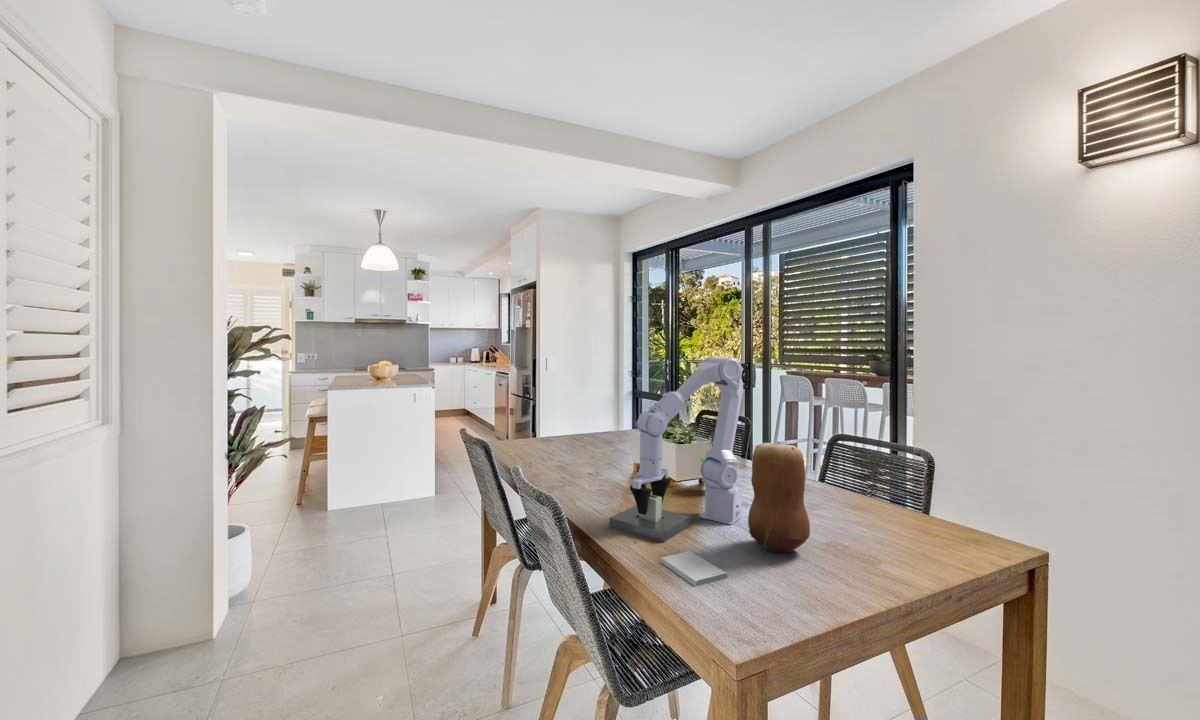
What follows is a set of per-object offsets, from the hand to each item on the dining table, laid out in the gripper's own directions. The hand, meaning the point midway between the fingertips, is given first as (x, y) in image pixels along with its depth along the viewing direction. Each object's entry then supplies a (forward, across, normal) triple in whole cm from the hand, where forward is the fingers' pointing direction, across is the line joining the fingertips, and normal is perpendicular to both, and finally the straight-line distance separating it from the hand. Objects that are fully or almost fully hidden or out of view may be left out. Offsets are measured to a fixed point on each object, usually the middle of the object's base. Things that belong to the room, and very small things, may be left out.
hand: (650, 509), depth 133 cm
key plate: (+4, 0, 0) cm, 4 cm away
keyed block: (+4, 0, 0) cm, 4 cm away
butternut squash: (+5, -6, +31) cm, 32 cm away
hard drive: (+5, +16, +20) cm, 26 cm away
